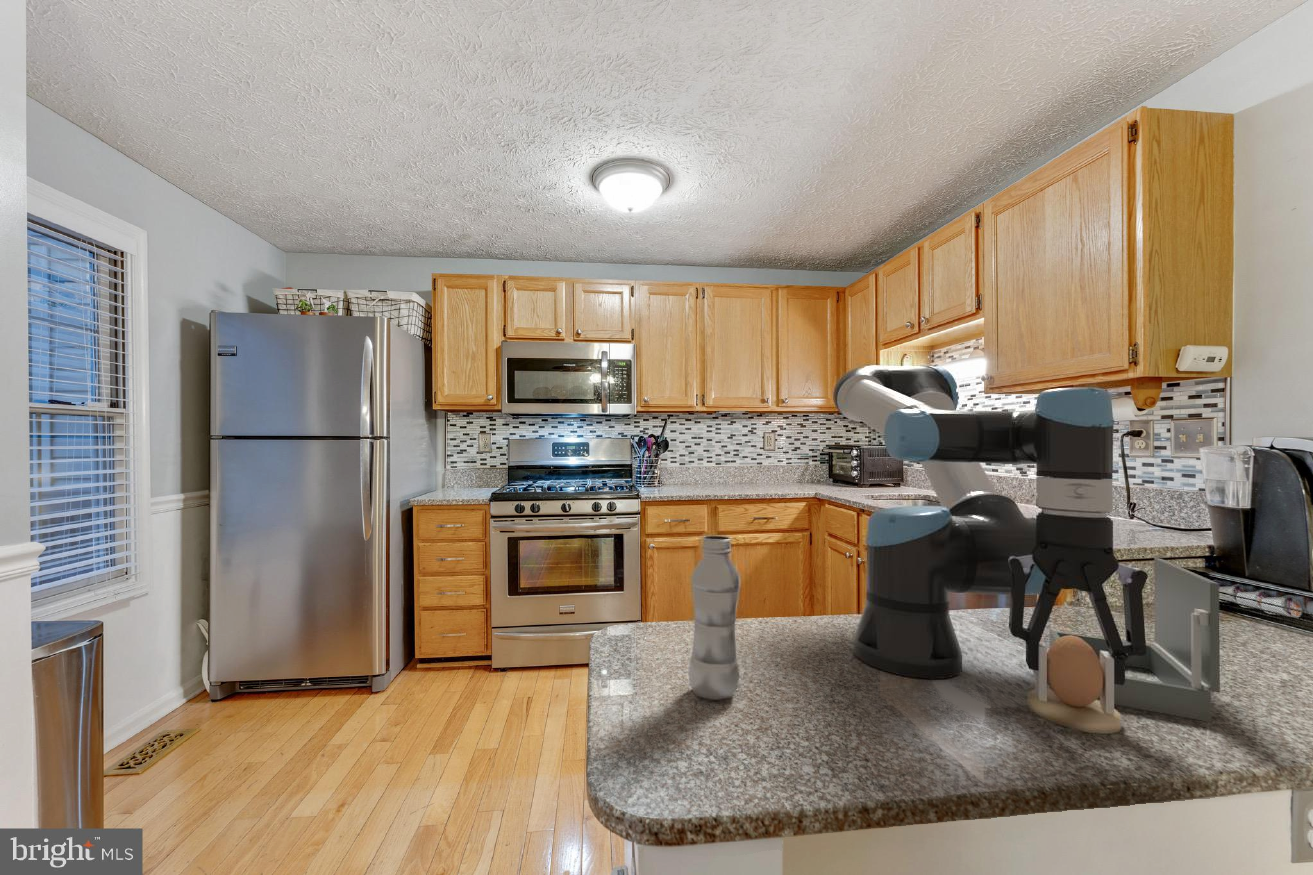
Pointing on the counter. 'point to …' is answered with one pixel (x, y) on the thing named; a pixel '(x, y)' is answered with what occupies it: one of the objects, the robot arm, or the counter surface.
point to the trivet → (1075, 714)
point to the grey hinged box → (1174, 647)
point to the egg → (1074, 671)
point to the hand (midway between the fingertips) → (1073, 702)
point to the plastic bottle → (714, 621)
